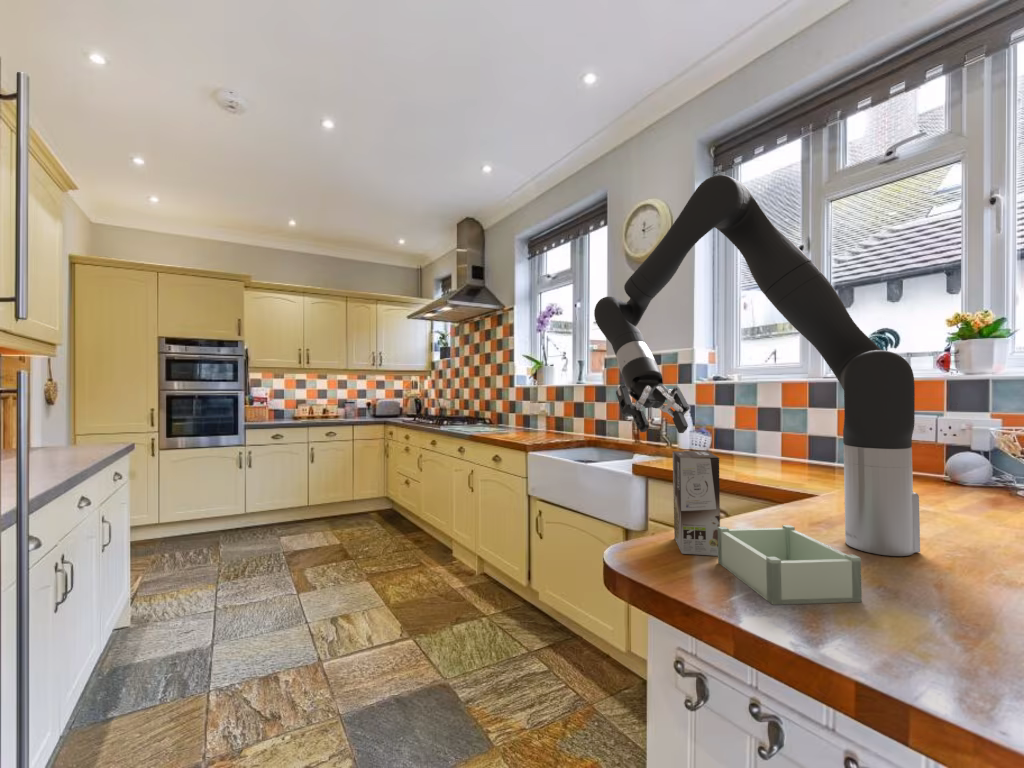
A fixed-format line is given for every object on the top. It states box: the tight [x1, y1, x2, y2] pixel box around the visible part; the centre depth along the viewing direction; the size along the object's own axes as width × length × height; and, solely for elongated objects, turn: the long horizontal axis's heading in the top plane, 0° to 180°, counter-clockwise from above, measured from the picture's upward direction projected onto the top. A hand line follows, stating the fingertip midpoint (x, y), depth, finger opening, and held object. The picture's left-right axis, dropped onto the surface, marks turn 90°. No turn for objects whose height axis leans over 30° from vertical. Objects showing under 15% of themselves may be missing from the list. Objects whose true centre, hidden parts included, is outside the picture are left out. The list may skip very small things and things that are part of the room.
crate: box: [717, 524, 863, 606], centre depth 68 cm, size 12×15×6 cm
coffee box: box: [672, 450, 721, 557], centre depth 83 cm, size 9×6×16 cm
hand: (664, 430), depth 92 cm, fingers open, 8 cm apart
